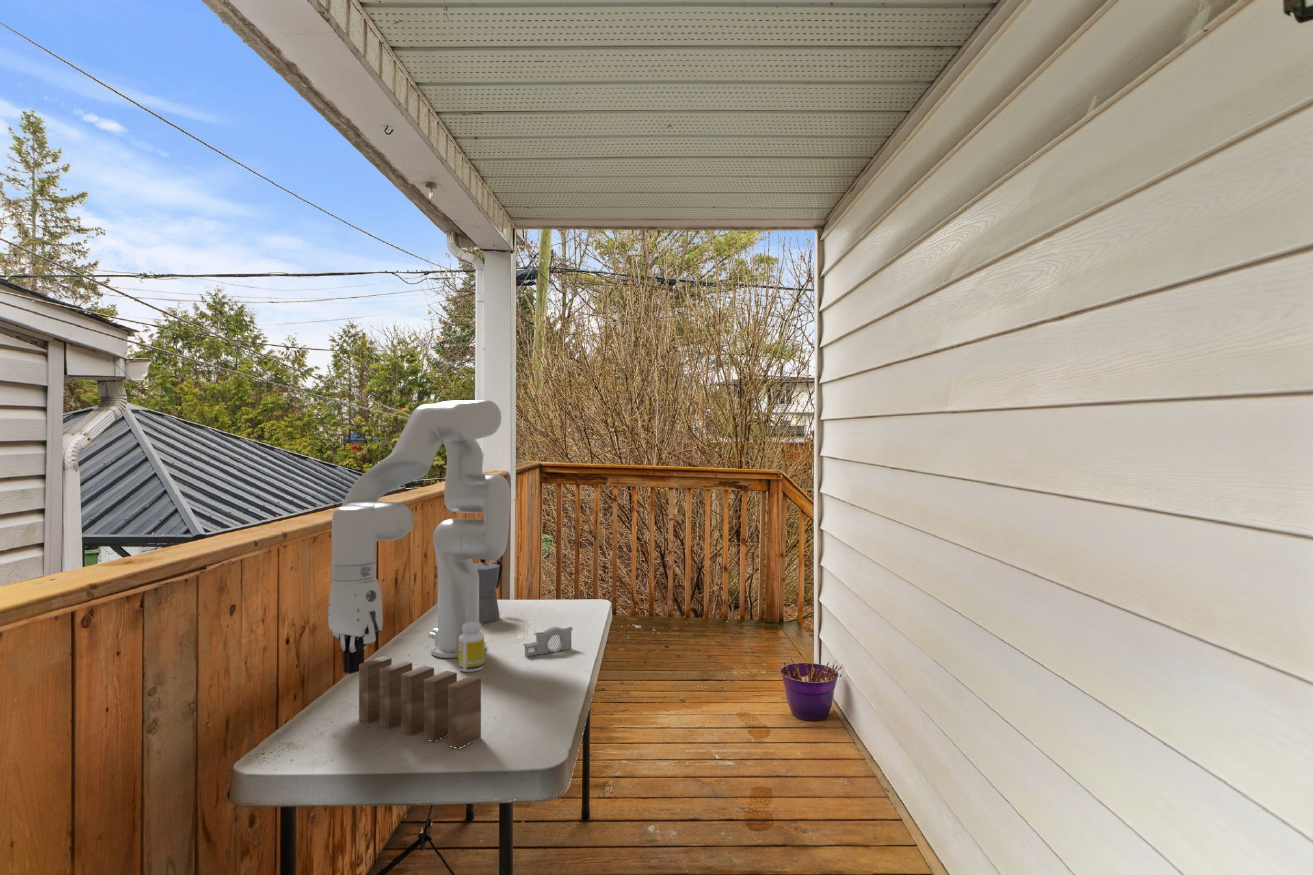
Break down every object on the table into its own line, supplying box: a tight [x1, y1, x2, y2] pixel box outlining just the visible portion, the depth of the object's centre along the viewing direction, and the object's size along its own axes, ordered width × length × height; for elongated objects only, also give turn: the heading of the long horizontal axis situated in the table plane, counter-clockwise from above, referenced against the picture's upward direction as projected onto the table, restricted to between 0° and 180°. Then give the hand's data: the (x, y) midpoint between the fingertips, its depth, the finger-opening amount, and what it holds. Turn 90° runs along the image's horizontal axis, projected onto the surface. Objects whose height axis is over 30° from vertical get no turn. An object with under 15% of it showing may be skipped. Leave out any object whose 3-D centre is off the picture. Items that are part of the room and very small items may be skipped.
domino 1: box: [358, 655, 393, 723], centre depth 118 cm, size 2×5×10 cm, turn 152°
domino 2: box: [379, 660, 413, 730], centre depth 115 cm, size 2×5×10 cm, turn 151°
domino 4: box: [423, 670, 458, 743], centre depth 110 cm, size 2×5×10 cm, turn 151°
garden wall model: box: [523, 626, 574, 657], centre depth 154 cm, size 12×2×6 cm, turn 123°
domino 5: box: [447, 675, 482, 749], centre depth 108 cm, size 2×5×10 cm, turn 151°
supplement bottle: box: [458, 622, 485, 673], centre depth 143 cm, size 5×5×10 cm
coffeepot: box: [474, 559, 503, 624], centre depth 185 cm, size 15×9×18 cm, turn 159°
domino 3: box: [400, 665, 435, 736], centre depth 113 cm, size 2×5×10 cm, turn 151°
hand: (353, 671), depth 121 cm, fingers closed
